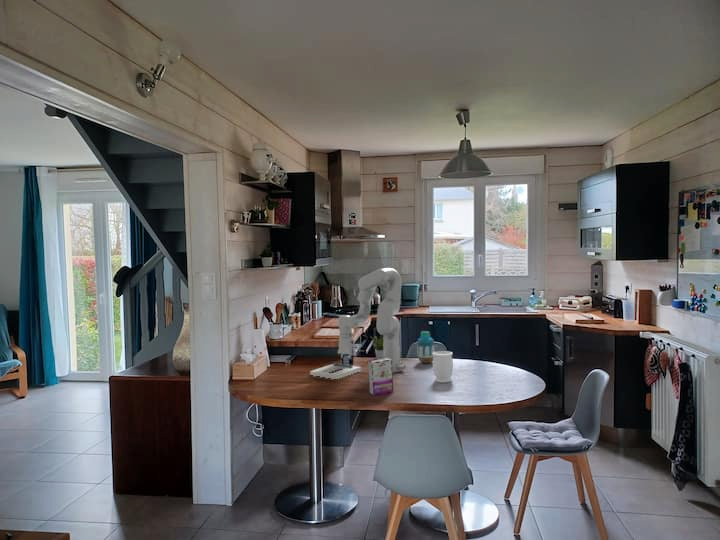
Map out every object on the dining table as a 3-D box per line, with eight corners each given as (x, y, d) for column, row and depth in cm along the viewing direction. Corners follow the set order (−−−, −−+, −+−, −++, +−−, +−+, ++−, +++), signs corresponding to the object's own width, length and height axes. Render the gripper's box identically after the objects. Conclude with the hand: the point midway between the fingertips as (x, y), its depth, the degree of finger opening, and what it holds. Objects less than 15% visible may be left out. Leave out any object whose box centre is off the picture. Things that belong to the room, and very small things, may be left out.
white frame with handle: (361, 371, 291) (360, 367, 291) (336, 379, 274) (336, 375, 274) (335, 367, 304) (335, 363, 304) (310, 375, 287) (310, 371, 287)
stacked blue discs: (353, 365, 305) (353, 356, 305) (348, 367, 301) (347, 358, 301) (347, 364, 308) (346, 355, 308) (342, 366, 304) (341, 357, 304)
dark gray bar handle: (352, 367, 290) (352, 365, 290) (350, 368, 289) (350, 365, 289) (335, 365, 299) (335, 362, 299) (333, 365, 298) (333, 363, 298)
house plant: (365, 361, 317) (363, 335, 317) (370, 356, 330) (369, 332, 330) (386, 361, 313) (385, 336, 312) (391, 356, 326) (390, 332, 326)
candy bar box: (389, 389, 251) (387, 357, 250) (393, 392, 246) (392, 359, 246) (369, 393, 246) (367, 360, 246) (373, 395, 242) (371, 362, 241)
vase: (416, 361, 310) (414, 331, 309) (432, 360, 311) (431, 330, 310) (420, 365, 299) (418, 333, 298) (437, 364, 300) (435, 332, 300)
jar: (431, 382, 260) (430, 354, 259) (435, 377, 269) (434, 350, 269) (451, 383, 256) (450, 355, 256) (455, 378, 266) (454, 351, 265)
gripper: (360, 335, 301) (362, 364, 302) (339, 333, 312) (341, 362, 313) (352, 337, 295) (354, 367, 296) (331, 335, 306) (333, 364, 307)
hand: (347, 364), depth 304 cm, fingers closed on stacked blue discs, 5 cm apart
